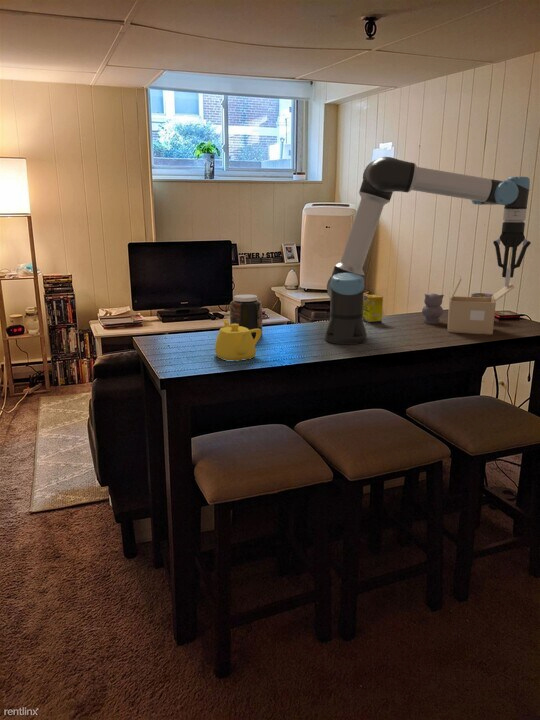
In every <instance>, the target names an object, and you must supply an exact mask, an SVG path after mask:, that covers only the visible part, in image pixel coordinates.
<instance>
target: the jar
mask: <svg viewBox="0 0 540 720" xmlns="http://www.w3.org/2000/svg"><path fill="white" fill-rule="evenodd" d="M233 297H234V299H233V300H232V301H230V303H229V326H230V325H231V324H239V326H242V327H245V328H248V329H249V330H252V329H261V330H262V331H263V304H262V301H261V300H258V296H257V295H256V294H237V295H234V296H233ZM230 327H231V326H230ZM251 335H252V337H253V339H255V337H256V332H252V333H251ZM262 336H263V333H262V334H261V337H262Z"/></svg>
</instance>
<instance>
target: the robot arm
mask: <svg viewBox="0 0 540 720" xmlns="http://www.w3.org/2000/svg"><path fill="white" fill-rule="evenodd" d="M530 180H531V179H530V178H529V177H528V176H509V177H507V180H498V179H491V178H487V177H482V176H474V175H468V174H463V173H457V172H452V171H451V172H449V171H446V170H445V171H443V170H440V169H439V170H438V169H433V168H428V167H427V168H426V167H421V166H417V164H416V162H412V161H411V162H410V161H407V160H406V161H405V160H401V159H398V158H395V157H391V156H383V157H379V158H376V159H375V160H374V159H373V161H371V162H370V163H369V164H368V165H367V166H366V167H365V169H364V171H363V173H362V182H361V185H360V189H359V191H358V194H359V196H360V201H359V205H358V207H357V210H356V213H355V217H354V220H353V223H352V225H351V229H350V231H349V234H348V238H347V241H346V243H345V247H344V250H343V254H342V256H341V259H340V261H339V262H338V263H336V264H335V265H334V267H333V270H332V273H331V276H330V277H329V279H328V281H327V283H326V291H327V292H326V293H327V295H328V296H329V298H330V306H329V307H330V308H329V309H330V310H329V313H330V314H329V317H330V318H329V320H328V323H327V326H326V329H325V332H324V340H325V341H326V342H329V343H332V344H338V345H339V344H340V345H358V344H363V343H365V342H367V339H368V337H367V336H368V335H367V330H366V325H365V321H363V305H364V292H365V291H364V290H365V279H364V277H365V273H364V272H365V271H364V270H363V267H364V264H365V262H366V259H367V256H368V253H369V250H370V248H371V247H370V246H371V244H372V241H373V238H374V237H375V236H374V235H375V232H376V230H377V227H378V224H379V222H380V221H379V220H380V218H381V214H382V213H383V209H384V206H385V205H387V204H389V203H390V201H391V199H392V196H393V194H394V193H393V192H401V193H406V194H407V193H410V192H411V191H414V192H421V193H426V194H427V193H428V194H433V195H438V196H439V195H440V196H446V197H452V198H457V199H458V198H459V199H463V200H469V201H470V200H471V203H472V205H478V206H479V205H481V206H482V205H484V206H485V205H488V206H490V205H493V206H494V205H497V206H498V205H501V206H504V207H503V209H504V210H503V216H502V217H503V218H502V220H503V222H502V226H501V234H500V235H499V238H497V239H495V240H492V244H493V245H494V248H495V253H496V260H497V266H498V267H499V268H501V269H502V273H501V276H502V278H504V281H503V283H504V284H503V287H509V283H511V281H510V280H511V278H514V276H515V275H514V274H515V269H517V268H520V267H521V265H522V262H523V259H524V256H525V254H526V251H527V249H528V248H529V246H530V245H531V244H532V242H531V241H529V240H528V239H526V237H525V228H526V227H525V225H526V223H525V221H526V218H527V210H528V209H527V208H528V202H529V201H528V200H529V195H530V194H529V193H530V188H531V187H530V182H531V181H530ZM501 243H502V245H503V246H504V253H503V260H502V256H501V255H502V254H501V248H500V245H501ZM521 244H522V248H521V250H520V253H519V255H518V258H517V251H518V247H519V246H520V245H521ZM510 248H511V258H510V264H509V265H510V267H509V268H508V262H509V254H510ZM516 258H517V260H516ZM502 261H503V262H502Z"/></svg>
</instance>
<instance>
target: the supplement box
mask: <svg viewBox="0 0 540 720" xmlns="http://www.w3.org/2000/svg"><path fill="white" fill-rule="evenodd" d="M383 305H384V297H383V296H381V295H378V294H366V295H364V296H363V322H364V323H367V322H368V323H367V324H369V323H371V324H380V323H381V324H382V321H383Z"/></svg>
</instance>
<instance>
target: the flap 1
mask: <svg viewBox="0 0 540 720" xmlns="http://www.w3.org/2000/svg"><path fill="white" fill-rule="evenodd" d="M457 277H458V278H457V279H456V282H455V283H454V286H453V287H452V290H451V292H450V294H449V299H450V298H451V300H452V298H453V296H455V294H456V292H457V289H458V288H459V286H460V283H461V282H462V277H461V275H459V276H457Z"/></svg>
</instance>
